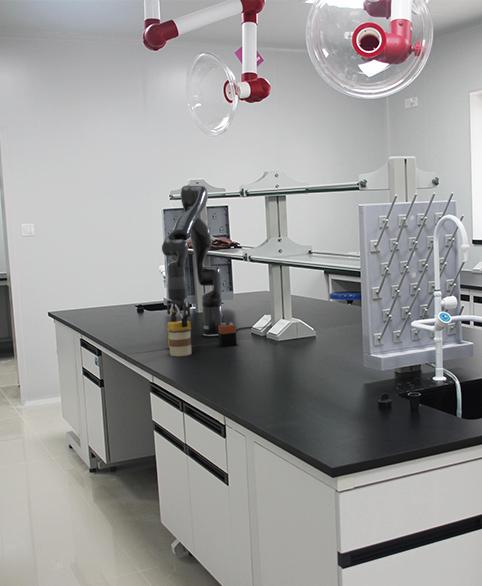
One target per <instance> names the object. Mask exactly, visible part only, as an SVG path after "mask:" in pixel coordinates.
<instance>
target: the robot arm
mask: <svg viewBox="0 0 482 586" xmlns="http://www.w3.org/2000/svg"><path fill="white" fill-rule="evenodd" d="M208 200H209V194H208V189H207V188H206V186H204V185H183V186H182V187H181V188H180V201H181V205H182V209H183V211H184V212H183V213H182V214H181V215H180V216H179V217H178V218H177V219H176V221H175V224H174V226H173V228H172V230H171V231H170V233H169V234H168V235H167V236H166V237H165V239H164V240H163V241H162V244H161V252H162V254H163V255H164V256H166V257H177V258H176V260H175V261H172V262H169V263H167V266H166V267H167V295H168V300H166V313H167V315H169V316H170V322H176V321H177V313H178V315H180V317H181V321H182V327H187V321H188V318H190V317H191V308H190V302H189V301H185V299H187V298H188V292H187V291H188V290H187V279H186V261H187V257H188V252H189V245H188V242H187V240H188V238H190V243H191V246H192V252H193V255H194V261H195V269H196V277H197V278H196V279H197V282H198V284H199V285H200V286H204V287H205V286H207V287H209V286H210V287H211V286H212V289H211V290H209V291H207V292H204V293H203V294H202V295H201V307H202V308H201V309H202V327H203V337H207V338H216V337H219V330H218V326H219V325H222V324H221V323H225V315H224V314H223V303H222V269H221V268H220V266H219V265H205V259H206V256H207V254H208V252H209V250H210V249H211V247H212V244H213V241H212V235H211V230H210V228H209V226H208V224H206V222H205V221H204V220H203V219H202V218H201V217H200V215H201V213H202V211H203V210H204V208H205V207H206V205H207V202H208ZM247 329H253V328H252V326H244V327H237V328H236V332H237V331H240V330H247Z"/></svg>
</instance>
